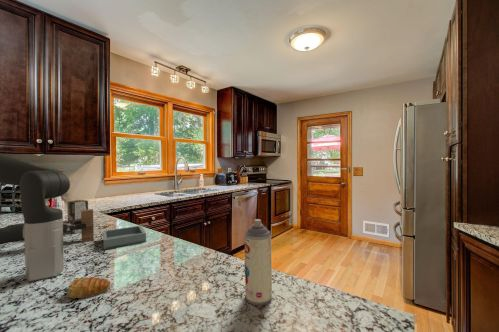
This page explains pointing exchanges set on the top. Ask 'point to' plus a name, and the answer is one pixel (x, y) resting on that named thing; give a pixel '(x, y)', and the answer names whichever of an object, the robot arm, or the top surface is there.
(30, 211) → the robot arm
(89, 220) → the walnut block
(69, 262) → the top surface
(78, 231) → the coffee box
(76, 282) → the pastry
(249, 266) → the aerosol can
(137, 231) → the slate tray
